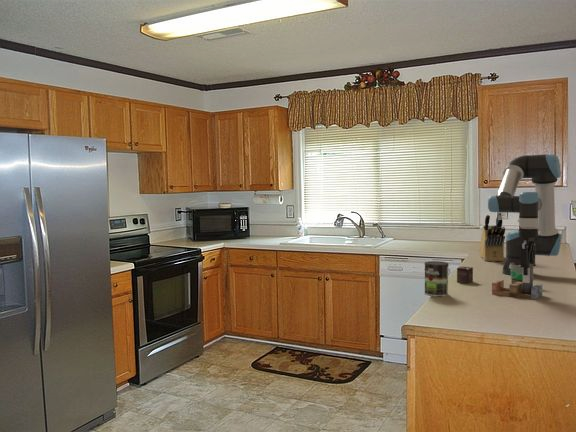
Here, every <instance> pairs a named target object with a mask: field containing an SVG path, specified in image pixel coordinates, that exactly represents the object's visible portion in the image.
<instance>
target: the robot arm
mask: <svg viewBox="0 0 576 432" xmlns="http://www.w3.org/2000/svg"><path fill="white" fill-rule="evenodd" d="M561 174H562V173H561V164H560V159H559V156H558V155H557V154H547V153H546V154H532V155H520V156H518V157H516V158H513V159H512V160H511V161H510V162H509V163H507V165H505V166H504V169H503V172H502V176H503V177H502V180H501V181H500V184H499V188H498V189H497V192H496V195H491V196H489V197H488V200H487V201H488V202H487V209H488V211H489V212H490V213H496V214H497V213H499V212H500V213H515V214H517V213H518V214H519V215H518V220H517V222H518V227H519V228H518V230H515V231H514V230H513V231H512V230H511V231H508V232H507V233H506V236H505V243H506V244H505V260H504V263H503V266H502V268H501V269H502V273H503V274H505V275H509V276H511V270H510V268H509V265H510V263H514V265H521V266H520V267H523V282H524V283H530V268H529V263H530V264H533V267H536V265H537V264H536V256H546V257H556V256H558V255H559V253H560V252H561V251H560V250H561V244H562V236H563V234H561V233H559V230H558V228H556V221H555V220H556V216H555V215H556V210H555V208H556V207H555V184H556V183H558V179H559V178H561V176H562V175H561ZM523 179H531V183H532V184H534V186H535V187H534V190H535V191H521V192H520V193H519V195H515V194H516V192H517V188H518V186H519V183H520V181H522V180H523Z"/></svg>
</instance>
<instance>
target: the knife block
mask: <svg viewBox="0 0 576 432" xmlns="http://www.w3.org/2000/svg"><path fill="white" fill-rule="evenodd" d="M496 214H497V215H496V219H495V225H489V223H490V220H491V216H490V215H489V214H487V215H485V219H484V225H483V227H482V230H481V231H482V232H481V238H480V242H479V243H480V244H479V249H478V253H479V256H480V257H481V258H482V259H483V260H484V261H485V262H491V261H492V262H493V261H494V262H495V261H498V262H503V261H505V260H504V255H505V253H504V251H505V250H504V249H505V248H504V243H505V240H506V236H505V233H506V227H505V226H503V217H502V212H499V213H497V212H496Z"/></svg>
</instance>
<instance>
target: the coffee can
mask: <svg viewBox="0 0 576 432" xmlns="http://www.w3.org/2000/svg"><path fill="white" fill-rule="evenodd" d="M449 265H450V264H449V262H446V261H439V260H438V261H435V260H434V261H433V260H432V261H425V262H424V295H425V296H429V297H436V296H442V297H448V296H449Z"/></svg>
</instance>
